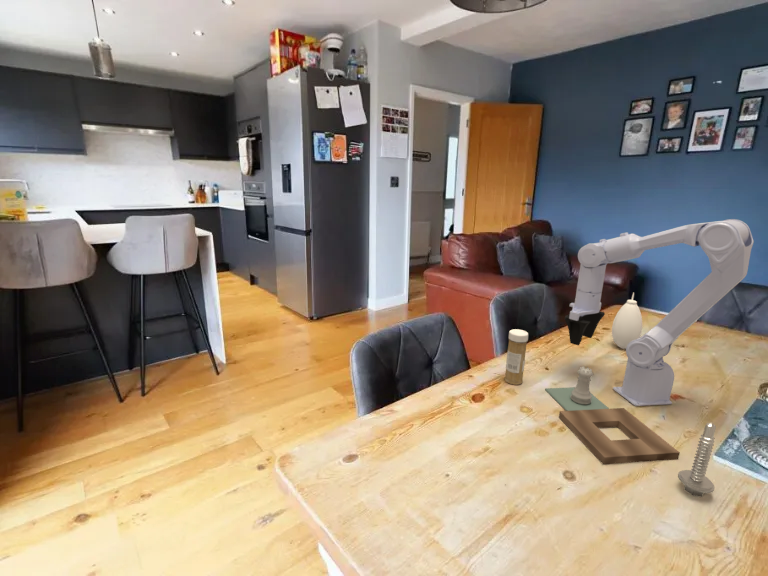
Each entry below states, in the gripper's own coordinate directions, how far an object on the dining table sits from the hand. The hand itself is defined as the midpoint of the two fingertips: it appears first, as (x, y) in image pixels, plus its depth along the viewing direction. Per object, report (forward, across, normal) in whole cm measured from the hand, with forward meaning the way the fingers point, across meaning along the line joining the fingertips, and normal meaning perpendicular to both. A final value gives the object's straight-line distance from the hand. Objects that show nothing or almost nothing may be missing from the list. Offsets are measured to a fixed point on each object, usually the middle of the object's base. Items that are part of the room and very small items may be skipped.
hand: (581, 340), depth 105 cm
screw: (+10, +28, +32) cm, 43 cm away
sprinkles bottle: (+10, +17, -8) cm, 21 cm away
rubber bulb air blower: (+10, -29, +2) cm, 31 cm away
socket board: (+9, +22, +17) cm, 30 cm away
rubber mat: (+9, +14, +6) cm, 18 cm away
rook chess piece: (+9, +14, +7) cm, 18 cm away
